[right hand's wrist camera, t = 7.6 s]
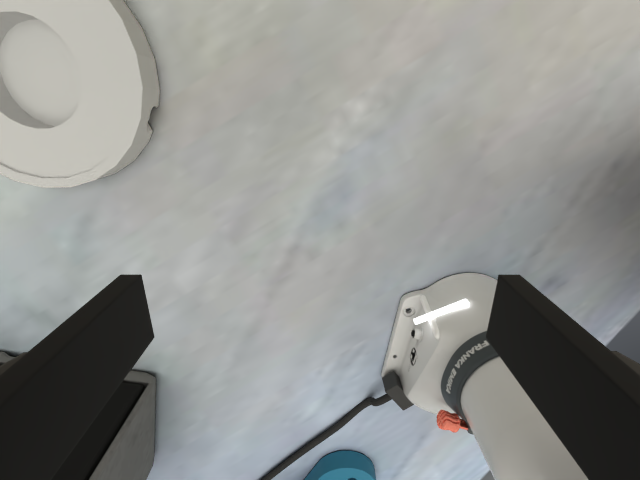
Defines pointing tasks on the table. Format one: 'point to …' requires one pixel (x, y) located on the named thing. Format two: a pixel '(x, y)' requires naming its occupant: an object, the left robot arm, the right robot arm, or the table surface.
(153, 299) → the table surface
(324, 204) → the table surface
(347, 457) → the camera mount
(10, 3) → the ashtray
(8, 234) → the table surface
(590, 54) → the table surface
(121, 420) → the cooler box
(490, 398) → the left robot arm
